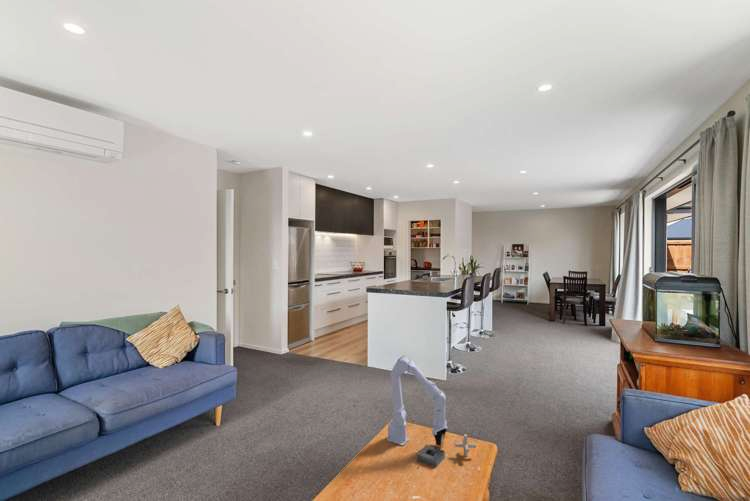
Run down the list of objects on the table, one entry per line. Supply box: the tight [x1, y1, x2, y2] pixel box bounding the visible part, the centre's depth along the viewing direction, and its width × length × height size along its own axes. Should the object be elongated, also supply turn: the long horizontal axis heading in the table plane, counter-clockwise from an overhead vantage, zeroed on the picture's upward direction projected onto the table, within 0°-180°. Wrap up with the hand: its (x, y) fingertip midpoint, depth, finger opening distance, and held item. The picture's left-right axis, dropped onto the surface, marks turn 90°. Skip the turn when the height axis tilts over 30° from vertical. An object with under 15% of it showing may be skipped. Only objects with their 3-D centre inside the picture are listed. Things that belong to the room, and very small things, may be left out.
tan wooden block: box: [435, 434, 445, 449], centre depth 183 cm, size 3×3×6 cm
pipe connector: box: [454, 433, 477, 458], centre depth 174 cm, size 10×10×10 cm
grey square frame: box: [416, 444, 446, 468], centre depth 171 cm, size 10×10×3 cm
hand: (439, 442), depth 183 cm, fingers closed on tan wooden block, 3 cm apart
